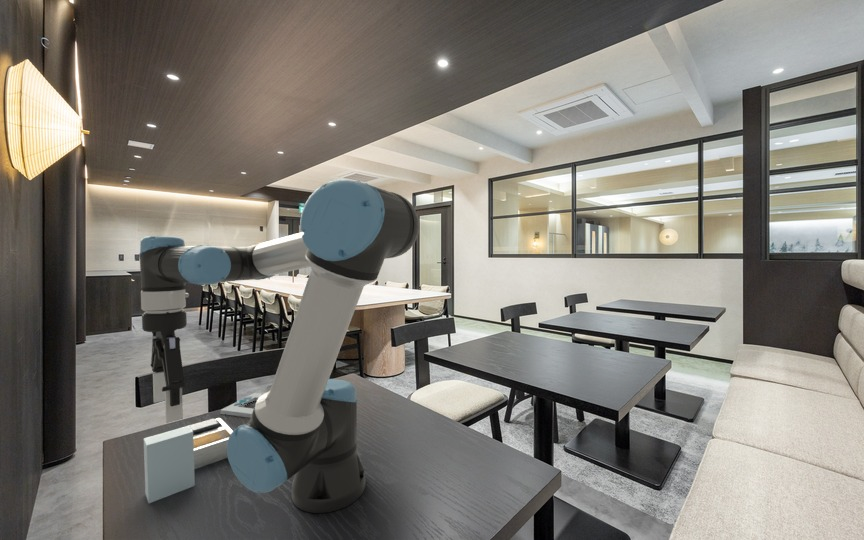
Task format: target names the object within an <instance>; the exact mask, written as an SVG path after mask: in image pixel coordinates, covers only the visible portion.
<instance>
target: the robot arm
mask: <svg viewBox="0 0 864 540" xmlns="http://www.w3.org/2000/svg"><path fill="white" fill-rule="evenodd" d="M299 228H300V229H299V230H300V231H301V232H298V233H293V234H290V235H286V236H282V237H279V238H274V239H272V240H267V241H264V242H260V243H258V244H253V245H250V246H220V245H219V246H217V245H216V246H215V245H214V246H213V245H209V244H207V245H202V244H200V245H199V244H197V245H186V243H185V240H184V238H182V237H179V236H165V235H164V236H163V235H162V236H161V235H160V236H159V235H157V236H152V235H151V236H149V235H147V236H144V237H142V238H141V240H140V244H139V245H140V249H139V254H138V256H139V268H140V269H139V270H140V288H141V289H140V290H141V291H140V309H141V310H142V311H143V313H142V314H141V327H142V328H141V329H142V330H143V331H144V332H146V333H147V332H148V333H151V334H152V340H151V342H152V345H151V356H150V357H151V358H150V359H151V360H150V361H151V362H150V367H151V371H152V387H153V390H152V392H153V396H152V397H153V403H154V404H155V403H160V402H164V401H165V402H164V407H165V409H164V410H165V413H164V414H165V423H166V424H168V423H173V422H175V421H180V420H183V418H184V415H183V414H184V413H183V412H184V410H183V388H184V387H185V386H186V382H185V377H184V369H183V362H182V355H181V354H182V353H181V343H180V342H181V338H180V337H179V336H177V337H176V334H175V331H177V330H182V329H184V328H186V327H187V326H188V325H187V321H188V320H187V310H185V309H184V308H186V306H187V299H186V298H189V297H190V294H189V293H188V292H186V289H187V288H186V284H192V285H193V284H194V285H197V286H205V285H210V286H211V285H216V284H218V283H223V282H224V283H225V282H236V281H238V282H239V281H251V280H252V281H254V280H255V281H258V280H259V281H260V280H266V279H270V278H272V277H273V276H275V275H279V274H285V273H288V272H289V273H290V272H293V271H297V270H301V269H306V268H307V269H308V268H311V269H310V273H309V276H308V278H307V281H306V285H305V287H304V290H303V294H302V296H301V300H300V301H299V304H298V308H297V310H296V314H295V315H294V316H295V317H294V320H293V322H292V325H291V328H290V331H289V334H288V337H287V340H286V343H285V345H284V349H283V352H282V354H281V358H280V360H279V364H278V367H277V368H276V373H275V374H274V375H275V376H274V378H273V380H272V381H273V382H272V384H271V387H270V390H268V391H266V392H264V393H262V395H261V396H260V397H259V398H258V400H257V401H255V405H254V407H253V409H254V410H253V413H252V416H251V418H249V420H248V421H247V422H246V423H245V424H241V425H238V426H237V428H235V429H233V432H232V433H231V434H230V436H229V438H228V442H227V456H228V458H227V460H228V463H229V464H230V467H231V470H232V472H233V474H234V476H235V477H236V478H237V480H238V481H239V482H240V483H241V484H242V486H244V487H246V488H247V489H248V490H250V491H251V492H253V493H257V494H262V493H263V494H266V493H267V494H268V493H270V492H272V491H273V490H275V489H276V488H277V487H279V486H283V485H284V484H286V483H287V481H288V480H289V479H291V478H292V477H293V480H292V483H291V501H292V503H293V504H294V505H295V506H296V507H297V509H299V510H301V511H304V512H307V513H313V514H323V513H324V514H325V513H331V512H336V511H339V510H341V509H344V508H346V507H349V506H350V505H351V504H353V503H355V502H356V501H357V500H358V499H359V498H360V497H361V496H362V495H363V493H364V491H365V489H366V471H365V469H364V466H363V463H362V460H361V457H360V455H359V452H358V446H357V444H358V442H357V441H358V438H357V437H358V434H357V433H358V430H357V429H358V423H357V421H358V420H357V405H358V404H357V403H358V399H357V390H356V386H355V385H354V384H353V383H352V382H351V381H347V380H343V379H338V378H337V379H336V378H330V377H331V374H332V373H333V369H334V367H335V363H336V361H337V358H338V355H339V354H340V349H341V348H342V345H343V342H344V339H345V337H346V334H347V332H348V329H349V326H350V324H351V321H352V318H353V316H354V313H355V311H356V309H357V306H358V303H359V300H360V298H361V294H362V292H363V290H364V287H366V286H367V285H369V284H372V283H374V282H376V281H377V279H378V277H379V274H380V271H381V269H382V266H383V264H384V261H385V259H394V258H397V257H400V256H402V255H404V254H406V253H407V252H408V251H410V249H411V248H412V247H413V246H414V245H415V243H416V241H417V239H418V237H419V234H420V233H419V232H420V220H419V215H418V213H417V211H416V209H415V207H414V205H413V204H412V203H411V202H410V200H408V199H407V198H406V197H404V196H403V195H400V194H398V193H395V192H392V191H388V190H386V189H382V188H380V187H376V186H373V185H371V184H368V183H366V182H362V181H360V180H351V179H350V180H349V179H345V178H344V179H342V178H341V179H334V180H331V181H328V182H327V183H325V184H322V185H320V186H319V187H317V188H316V189H315V190H314V191H313V192H312V193H311V194H310V195H309V197H308V198H307V200H306V202H305V204H304V205H303V209H302V212H301V216H300V221H299Z"/></svg>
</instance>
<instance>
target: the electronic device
mask: <svg viewBox="0 0 864 540" xmlns="http://www.w3.org/2000/svg"><path fill="white" fill-rule="evenodd" d="M262 394H263V393H260V392H253V393H252V394H249V395H247V396H245V397H243V398H242V399H239V400H237V401H235V402H234V403H231V404H230V405H228V406H225V407H223V408H222V409H220V414H221V415H225V414H226V416H233V417H242V418H249V419H251V416H252V413H253V410H254V407H253V408H252V407H246V406H248V405H247V404H244V403H248V402H252V403H254V402H257V400H258V398H259V397H260V396H261V395H262ZM253 401H254V402H253ZM241 404H242V405H241ZM243 405H246V406H243Z"/></svg>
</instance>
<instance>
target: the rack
mask: <svg viewBox="0 0 864 540" xmlns="http://www.w3.org/2000/svg"><path fill="white" fill-rule="evenodd" d="M186 426H189V427H190V428H191V429H192V431H193V443H194V470H197V469H200V468H203V467H205V466H207V465H211V464H213V463H216V462H217V463H218V462H219V461H222V460H225V459H228V456H227V442H228V438H229V436H230V434H231V433H232V432H233V431H234V429H232V428H231V427H230V426H229V425H228V424H227V423H226V422H225V421H224V420H223V419H222V418H221V417H217V418H210V419H207V420H204V421H200V422H196V423H192V424H189V425H185V426H184V427H186ZM182 427H183V426H182ZM182 427H180V428H182Z"/></svg>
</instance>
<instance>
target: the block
mask: <svg viewBox="0 0 864 540" xmlns="http://www.w3.org/2000/svg"><path fill="white" fill-rule="evenodd" d="M185 426H186V427H185ZM185 426H182V428H181V427H179V428H178V427H177V428H176V429H172V430H168V431H165V432H161V433H158V434H154V435H150V436H147V437H144V438H143V456H144V457H143V458H144V461H143V463H144V464H143V465H144V489H145V497H146V500H147V503H148V504H152V503H154V502H156V501H159V500H162V499H164V498H167V497H170V496H172V495H174V494H177V493H179V492H180V493H181V492H183V491H185V490H188V489H190V488H193V487H195V485H196V482H195V481H196V478H195V469H194V443H193V431H192V429H191V428H190V427H189V426H188V425H185Z"/></svg>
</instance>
